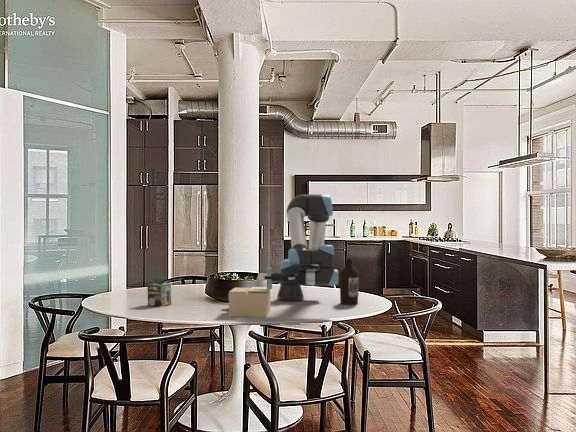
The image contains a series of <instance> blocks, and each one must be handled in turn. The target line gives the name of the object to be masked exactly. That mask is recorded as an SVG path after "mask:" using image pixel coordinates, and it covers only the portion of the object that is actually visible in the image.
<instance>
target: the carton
mask: <svg viewBox="0 0 576 432" xmlns="http://www.w3.org/2000/svg"><path fill="white" fill-rule="evenodd" d="M250 288H251V287H233V288H232V289H231V290H229V292H228V294H227V295H228V296H227V299H228V317H254V318H255V317H261V318H262V317H263V318H264V317H265V318H266V317H267V316H268V315H270V312H271V289H269V290H268V291H267V292H248V290H249V289H250Z"/></svg>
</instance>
